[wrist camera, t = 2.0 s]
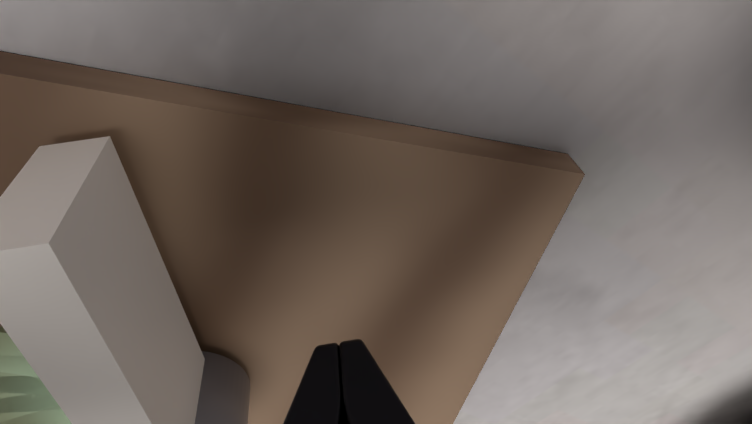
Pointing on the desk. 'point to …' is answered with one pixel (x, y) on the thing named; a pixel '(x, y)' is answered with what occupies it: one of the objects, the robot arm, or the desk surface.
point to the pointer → (102, 299)
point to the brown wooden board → (302, 229)
